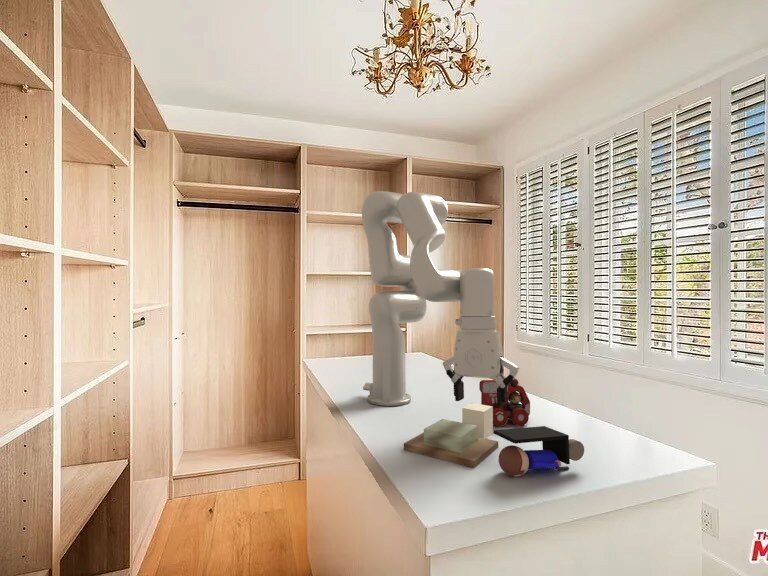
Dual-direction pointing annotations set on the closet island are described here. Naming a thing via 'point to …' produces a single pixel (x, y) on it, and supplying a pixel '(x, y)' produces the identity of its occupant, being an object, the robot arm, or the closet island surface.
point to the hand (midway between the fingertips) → (479, 402)
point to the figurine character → (553, 451)
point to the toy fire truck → (511, 407)
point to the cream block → (479, 418)
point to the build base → (454, 456)
